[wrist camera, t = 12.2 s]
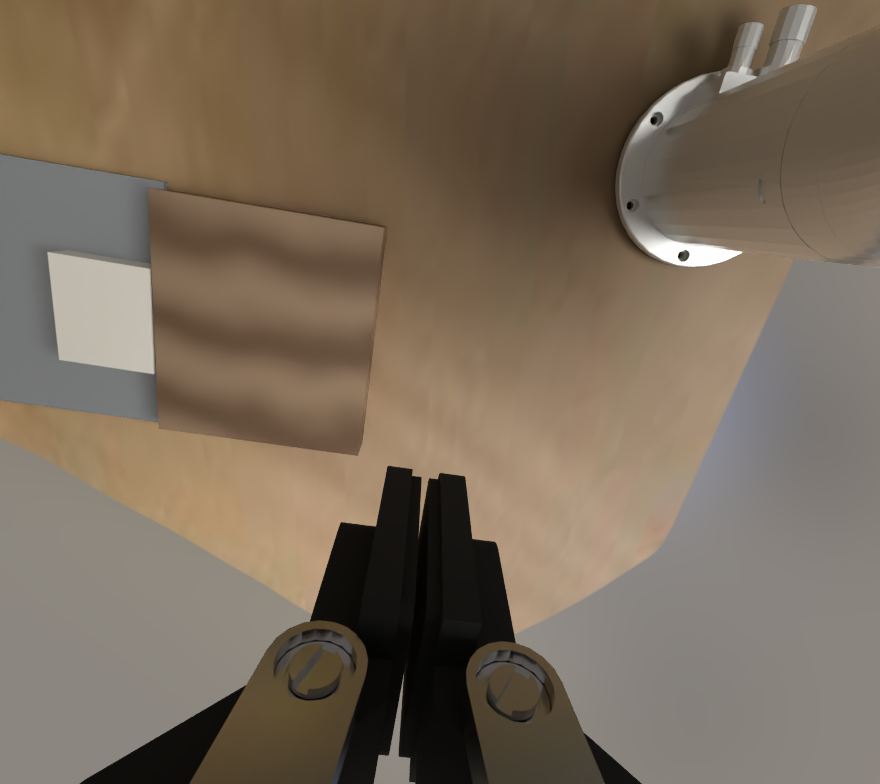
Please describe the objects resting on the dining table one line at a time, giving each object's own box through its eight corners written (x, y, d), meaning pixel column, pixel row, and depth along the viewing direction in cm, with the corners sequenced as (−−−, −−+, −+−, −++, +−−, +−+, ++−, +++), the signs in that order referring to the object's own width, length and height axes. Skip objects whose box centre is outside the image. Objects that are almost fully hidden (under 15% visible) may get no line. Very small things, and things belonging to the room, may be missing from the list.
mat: (-98, 137, 33) (-105, 136, 33) (167, 182, 35) (163, 181, 34) (-47, 390, 40) (-53, 392, 39) (174, 421, 41) (171, 423, 41)
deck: (167, 189, 35) (147, 188, 32) (387, 226, 36) (383, 227, 33) (174, 416, 41) (158, 428, 38) (362, 442, 42) (357, 455, 39)
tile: (67, 250, 36) (47, 251, 34) (164, 266, 36) (149, 268, 34) (77, 352, 38) (58, 359, 36) (167, 366, 39) (153, 374, 37)
